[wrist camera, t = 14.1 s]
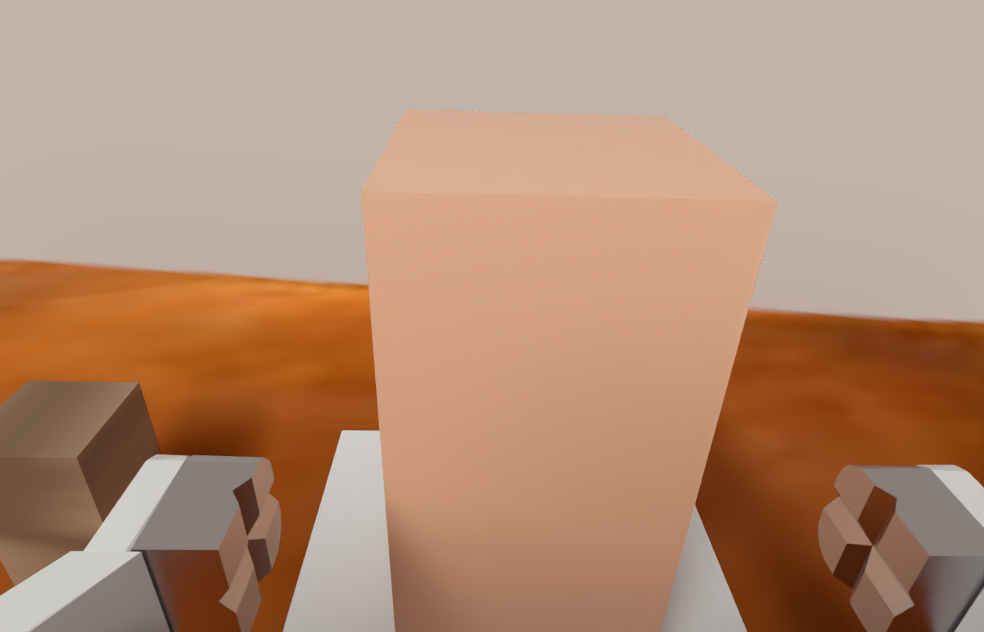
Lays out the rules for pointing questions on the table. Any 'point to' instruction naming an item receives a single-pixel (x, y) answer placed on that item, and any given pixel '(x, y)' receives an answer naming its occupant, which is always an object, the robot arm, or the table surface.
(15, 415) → the walnut peg
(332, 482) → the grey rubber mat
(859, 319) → the table surface
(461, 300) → the peach rectangular block
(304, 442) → the table surface
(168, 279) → the table surface
